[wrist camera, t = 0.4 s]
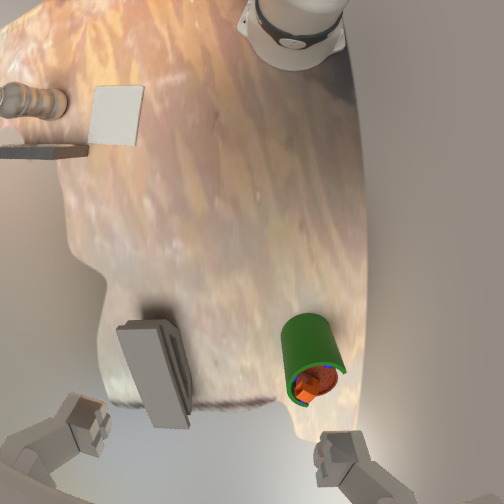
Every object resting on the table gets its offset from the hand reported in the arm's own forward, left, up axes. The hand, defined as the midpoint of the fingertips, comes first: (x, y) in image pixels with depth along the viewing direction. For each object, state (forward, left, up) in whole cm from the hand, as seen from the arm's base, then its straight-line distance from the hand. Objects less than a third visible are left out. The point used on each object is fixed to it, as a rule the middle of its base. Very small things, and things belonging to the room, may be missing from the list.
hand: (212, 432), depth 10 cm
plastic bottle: (-16, -41, -47) cm, 65 cm away
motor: (+23, +14, -47) cm, 55 cm away
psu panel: (-7, -41, -47) cm, 63 cm away
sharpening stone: (+33, -13, -47) cm, 59 cm away
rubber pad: (-14, -27, -47) cm, 56 cm away
